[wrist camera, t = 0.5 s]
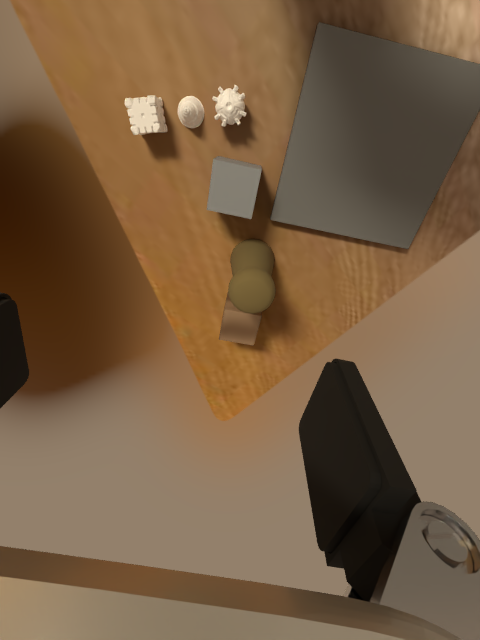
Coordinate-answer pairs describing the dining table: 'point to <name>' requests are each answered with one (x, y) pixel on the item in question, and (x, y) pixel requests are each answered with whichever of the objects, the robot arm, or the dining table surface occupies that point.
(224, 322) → the walnut block
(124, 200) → the dining table surface
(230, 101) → the game pieces
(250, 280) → the olive lobed rounded piece
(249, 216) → the slate-grey block
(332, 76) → the mat
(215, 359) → the dining table surface
